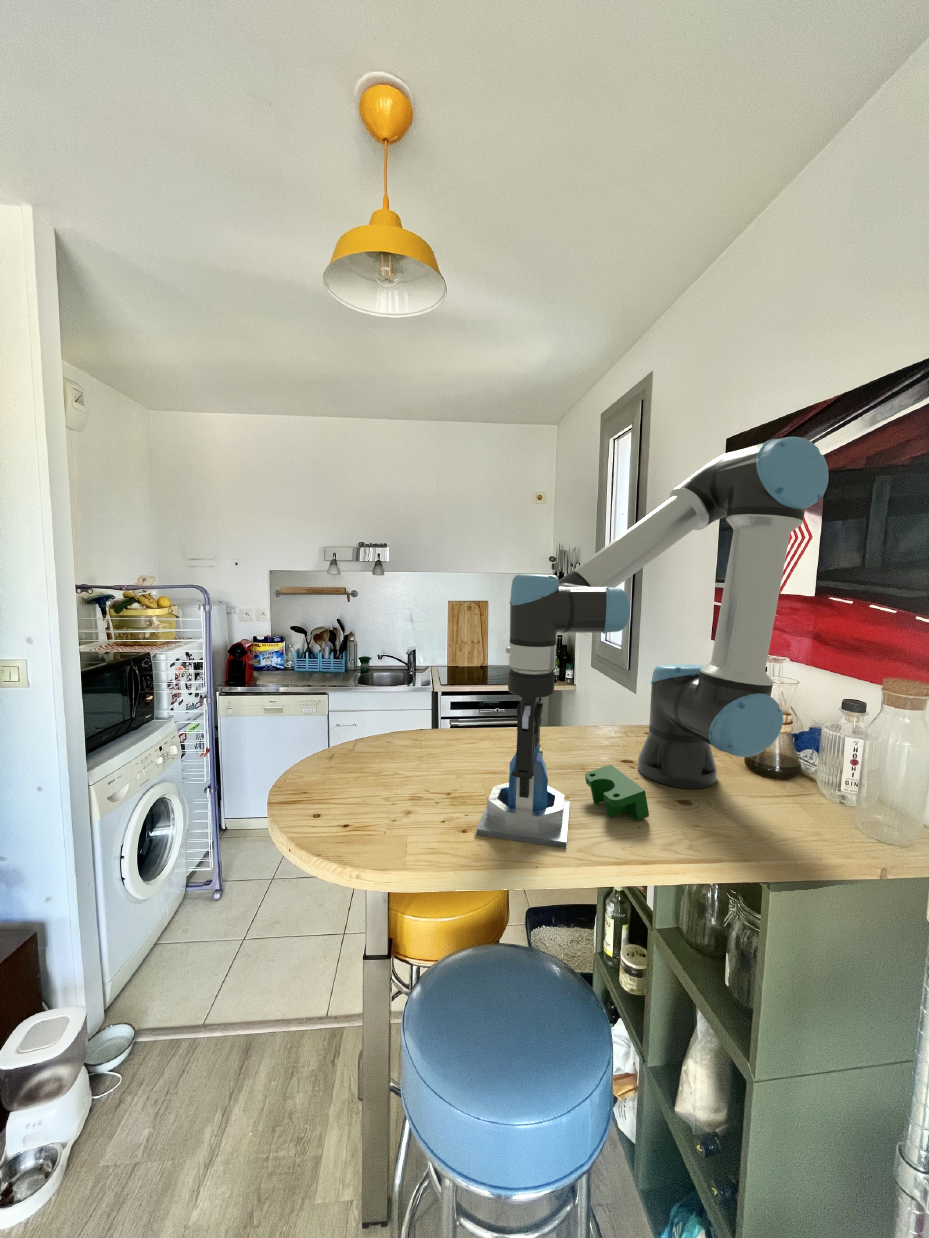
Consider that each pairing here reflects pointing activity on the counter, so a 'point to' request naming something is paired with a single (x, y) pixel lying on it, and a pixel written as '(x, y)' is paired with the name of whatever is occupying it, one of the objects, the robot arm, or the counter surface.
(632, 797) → the clamp
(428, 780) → the counter surface
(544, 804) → the perfume bottle
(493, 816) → the flange
